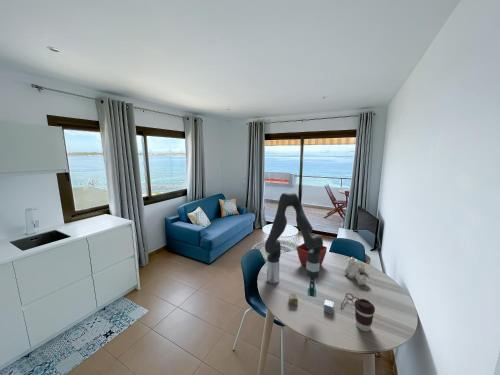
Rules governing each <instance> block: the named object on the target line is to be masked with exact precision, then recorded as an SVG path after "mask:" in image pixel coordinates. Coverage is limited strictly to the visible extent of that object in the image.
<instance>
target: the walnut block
mask: <svg viewBox="0 0 500 375" xmlns="http://www.w3.org/2000/svg"><path fill="white" fill-rule="evenodd" d="M298 301H299V298H298V294H297V293H292V292H290V293H288V302H289V306H292V307H293V306H295V307H296V306H299V305H298V304H299V302H298Z"/></svg>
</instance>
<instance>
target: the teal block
mask: <svg viewBox="0 0 500 375" xmlns="http://www.w3.org/2000/svg"><path fill="white" fill-rule="evenodd" d="M317 288H318V286H317V284H315V288H314V297H313V298H317ZM309 290H310V287H309V282H308V283H307V296H308V297H311V296H310V291H309Z"/></svg>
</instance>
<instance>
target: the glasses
mask: <svg viewBox="0 0 500 375" xmlns="http://www.w3.org/2000/svg"><path fill="white" fill-rule="evenodd" d="M348 295H350V296H351V297H352V298H350V297H348ZM346 298H347V299H348V300H351V301H353V300H354V299H356V300H358V299H360V298H359V297H357V296H354V295H353V294H351V293H345V296H344V299H343V301H342V303H341V305H340V310H342V309H343V305H344V302H346Z"/></svg>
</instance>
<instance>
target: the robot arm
mask: <svg viewBox="0 0 500 375" xmlns="http://www.w3.org/2000/svg"><path fill="white" fill-rule="evenodd" d="M277 205H278V206H277V209H276V213H275V215H274V216H275V217H274V220H273V222H272V226H271V228H270V232H269V234H268V237H267V239H266V241H265V244H264V249H265V250H264V251H265V252H266V253H267V254H268V255H267V259H266V262H267V265H266V266H267V269H266V282H268V283H270V284H272V283H273V285H274V284H278V283H279V282H280V258H281V253H282V252H281V250H282V248H281V242H280V240H279V238H280V237H281V236H282V234H283V233H284V232H285V229H286V227H287V224H288V219H287V216H286V211H287V208H289V207H292V208H294V211H295V220H296V224H297V227H298V228H299V230H300V232H301V236H302V239H303V244H304V243H305V246H306V247H307V248H309V249H311V250H309V251H308V252H307V263H306V267H305V269H306V270H305V274H306V276H307V277H308V283H309V287H310V290H309V291H310V296H309V297H313V298H315V297H314V288H315V285H316V281H317V279H318V278H319V276H320V267H321V266H320V264H319V257H320V253H321V250H322V246H324V239H323V238H322V236H321V235H319V234H315V235H311V233H313V231H314V229H313V226H312V225H311V223H310V221H309V220H308V217H307V216H306V213H305V211H304V209H303V206H302V204H301V201H300V199H299V196H298V194H297V193H296V192H290V191H289V192H283V193H282V194H281V195H280V196H279V200H278V204H277Z"/></svg>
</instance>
